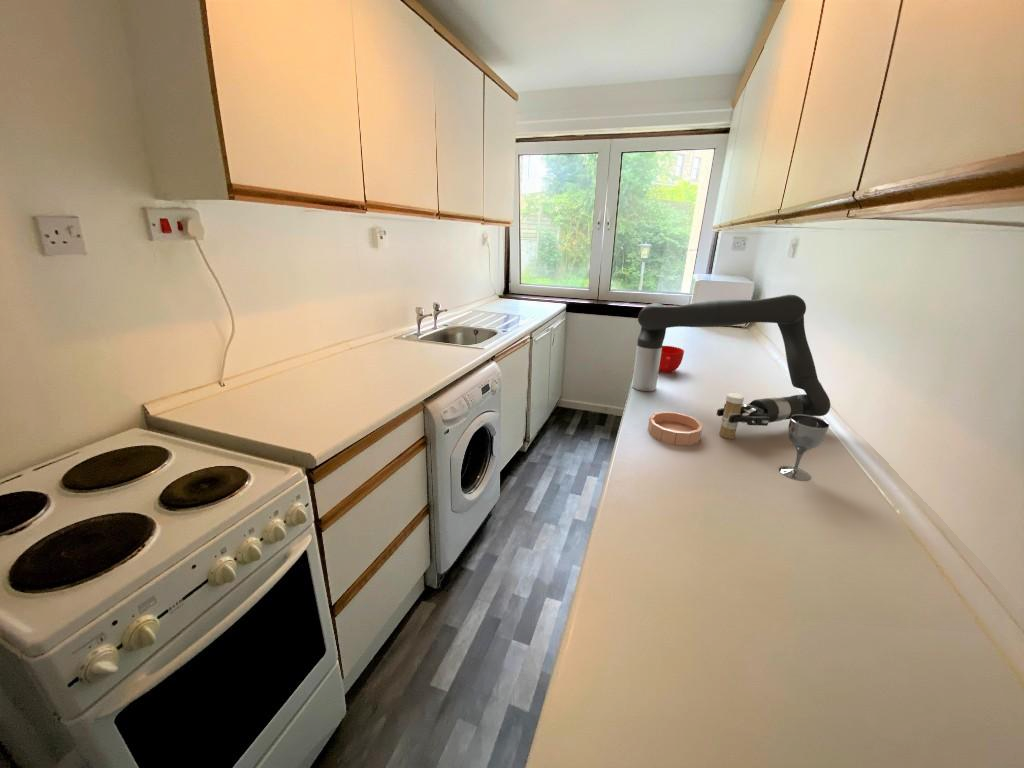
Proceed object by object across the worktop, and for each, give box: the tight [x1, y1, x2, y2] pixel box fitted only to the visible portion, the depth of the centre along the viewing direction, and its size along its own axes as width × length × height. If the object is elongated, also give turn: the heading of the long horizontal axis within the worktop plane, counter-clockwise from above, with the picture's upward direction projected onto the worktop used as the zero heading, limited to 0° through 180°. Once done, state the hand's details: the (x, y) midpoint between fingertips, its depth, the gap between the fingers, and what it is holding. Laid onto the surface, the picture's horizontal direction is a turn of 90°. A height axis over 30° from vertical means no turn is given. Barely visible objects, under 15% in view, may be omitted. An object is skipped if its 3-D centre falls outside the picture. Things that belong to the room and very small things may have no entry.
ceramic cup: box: [658, 345, 685, 374], centre depth 182 cm, size 13×17×10 cm
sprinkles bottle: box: [718, 392, 745, 440], centre depth 125 cm, size 5×5×13 cm
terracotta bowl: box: [647, 411, 704, 446], centre depth 127 cm, size 15×15×4 cm
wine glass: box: [778, 414, 830, 482], centre depth 105 cm, size 8×8×15 cm
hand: (724, 415), depth 124 cm, fingers closed on sprinkles bottle, 4 cm apart
